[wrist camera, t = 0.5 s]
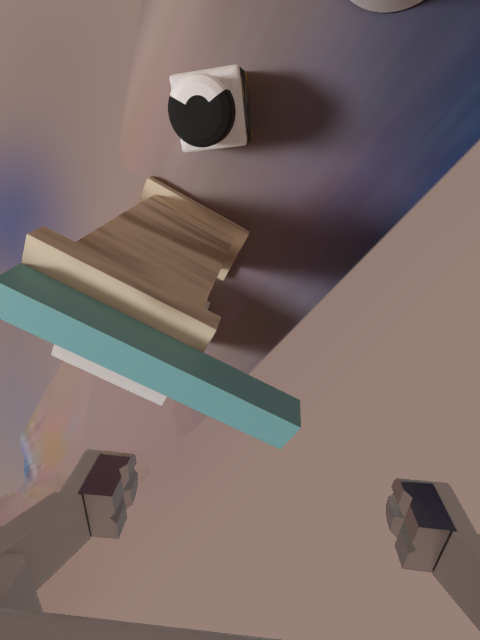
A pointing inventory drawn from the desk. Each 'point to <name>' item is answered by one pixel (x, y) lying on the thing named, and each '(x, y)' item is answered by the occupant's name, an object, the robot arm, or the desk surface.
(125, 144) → the desk surface
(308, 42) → the desk surface
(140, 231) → the birch shelf
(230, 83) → the medicine bottle
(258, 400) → the teal rectangular bar
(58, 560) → the robot arm
